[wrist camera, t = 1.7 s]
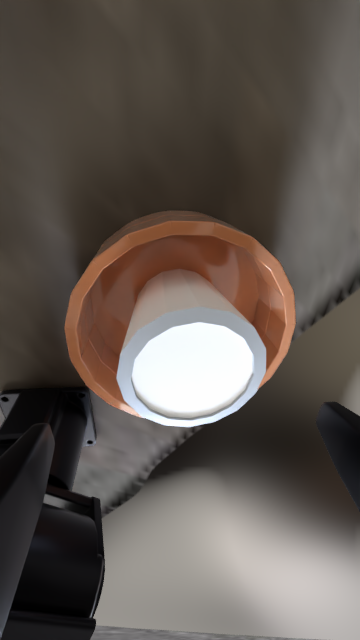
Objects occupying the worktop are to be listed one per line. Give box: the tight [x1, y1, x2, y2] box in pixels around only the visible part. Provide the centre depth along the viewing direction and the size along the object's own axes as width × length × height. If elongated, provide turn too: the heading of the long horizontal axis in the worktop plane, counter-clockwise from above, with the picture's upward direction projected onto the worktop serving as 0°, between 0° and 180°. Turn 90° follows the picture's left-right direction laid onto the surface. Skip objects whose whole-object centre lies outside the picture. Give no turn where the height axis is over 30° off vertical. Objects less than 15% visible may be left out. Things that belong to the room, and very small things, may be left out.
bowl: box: [64, 210, 296, 418], centre depth 16 cm, size 12×12×4 cm
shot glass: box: [116, 269, 266, 427], centre depth 15 cm, size 7×7×7 cm
